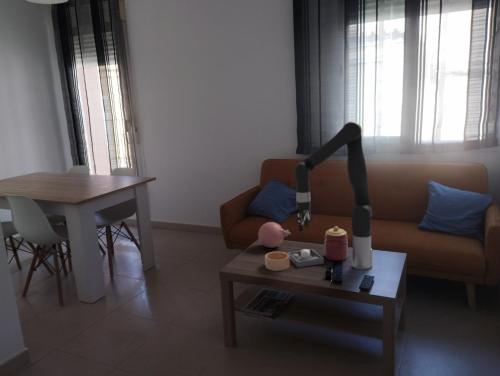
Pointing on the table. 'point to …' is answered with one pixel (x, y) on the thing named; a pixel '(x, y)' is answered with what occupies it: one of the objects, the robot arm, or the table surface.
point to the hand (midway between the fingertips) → (304, 229)
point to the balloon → (272, 234)
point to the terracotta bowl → (277, 261)
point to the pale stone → (305, 254)
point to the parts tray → (301, 263)
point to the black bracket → (327, 274)
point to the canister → (336, 244)
